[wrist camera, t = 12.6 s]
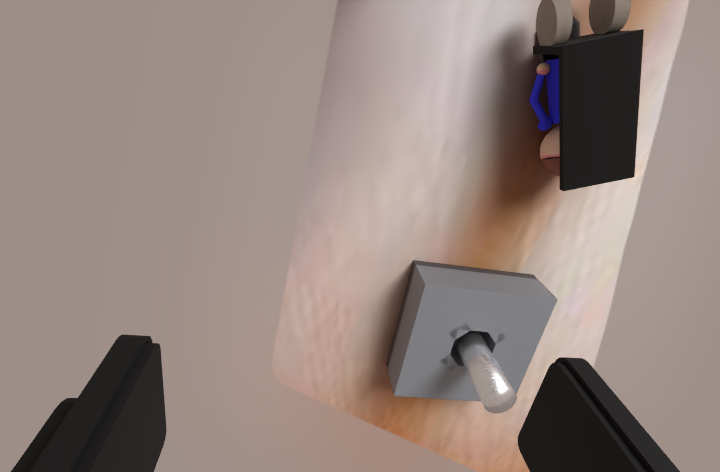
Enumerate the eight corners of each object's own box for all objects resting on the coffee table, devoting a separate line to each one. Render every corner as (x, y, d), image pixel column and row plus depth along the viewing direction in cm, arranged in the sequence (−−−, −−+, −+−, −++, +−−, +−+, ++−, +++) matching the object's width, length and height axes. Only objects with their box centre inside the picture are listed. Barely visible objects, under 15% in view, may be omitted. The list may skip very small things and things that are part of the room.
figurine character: (508, 12, 36) (523, 179, 41) (555, -12, 29) (567, 195, 33) (583, -5, 36) (589, 164, 41) (648, -33, 29) (647, 176, 33)
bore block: (413, 260, 43) (425, 284, 39) (533, 274, 46) (557, 299, 41) (386, 364, 49) (393, 395, 44) (494, 372, 51) (512, 403, 46)
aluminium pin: (450, 313, 45) (489, 386, 35) (475, 316, 46) (521, 389, 36) (443, 335, 46) (479, 412, 36) (468, 337, 47) (510, 414, 37)
